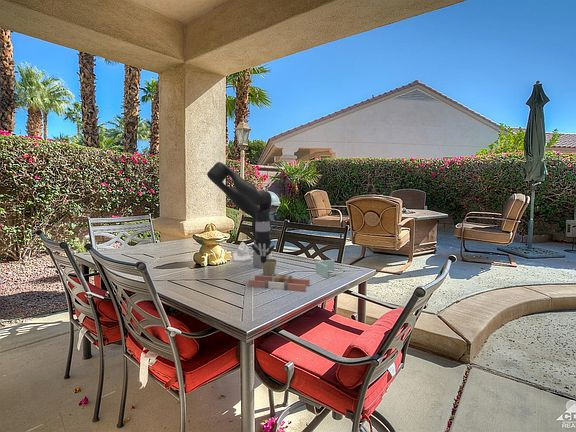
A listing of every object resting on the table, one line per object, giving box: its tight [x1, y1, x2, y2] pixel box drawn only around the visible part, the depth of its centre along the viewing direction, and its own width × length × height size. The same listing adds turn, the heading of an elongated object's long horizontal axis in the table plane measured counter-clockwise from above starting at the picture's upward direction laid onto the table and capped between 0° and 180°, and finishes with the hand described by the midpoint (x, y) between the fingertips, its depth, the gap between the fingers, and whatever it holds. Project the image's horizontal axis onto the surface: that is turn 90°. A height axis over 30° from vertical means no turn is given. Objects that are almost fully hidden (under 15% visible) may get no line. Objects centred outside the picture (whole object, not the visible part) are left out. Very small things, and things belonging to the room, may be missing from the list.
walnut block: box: [274, 274, 291, 283], centre depth 158 cm, size 7×6×5 cm
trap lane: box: [247, 273, 311, 292], centre depth 158 cm, size 30×11×4 cm, turn 74°
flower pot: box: [261, 258, 278, 276], centre depth 176 cm, size 9×9×9 cm
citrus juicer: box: [232, 241, 252, 264], centre depth 211 cm, size 12×15×14 cm
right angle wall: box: [315, 259, 337, 280], centre depth 178 cm, size 12×12×8 cm
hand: (263, 262), depth 160 cm, fingers closed
